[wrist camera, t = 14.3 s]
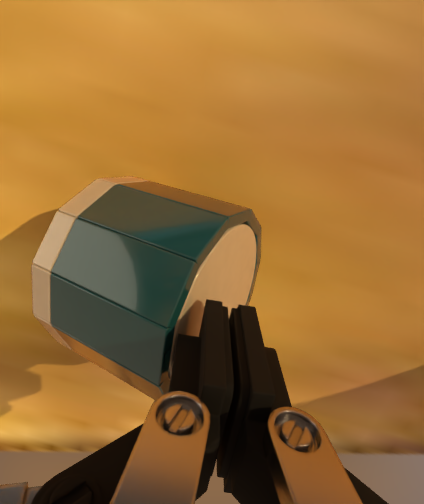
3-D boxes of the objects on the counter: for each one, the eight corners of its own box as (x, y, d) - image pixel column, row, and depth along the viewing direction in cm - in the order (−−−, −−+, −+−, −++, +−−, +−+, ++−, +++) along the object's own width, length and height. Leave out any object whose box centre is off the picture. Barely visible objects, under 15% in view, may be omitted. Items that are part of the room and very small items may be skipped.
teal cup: (180, 233, 8) (28, 182, 11) (149, 453, 11) (33, 375, 14) (274, 200, 15) (168, 173, 18) (240, 342, 18) (153, 303, 20)
